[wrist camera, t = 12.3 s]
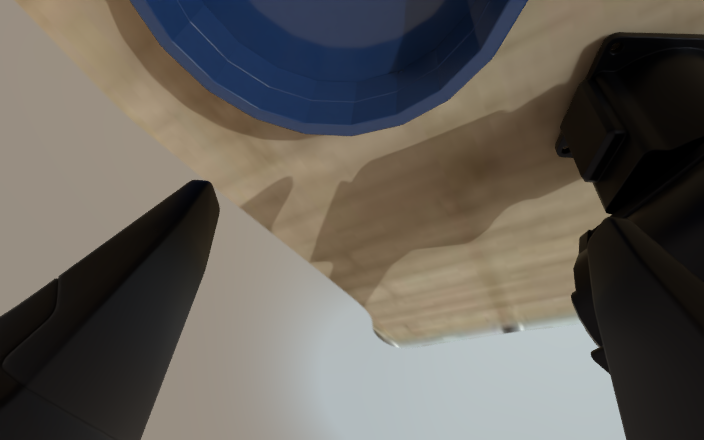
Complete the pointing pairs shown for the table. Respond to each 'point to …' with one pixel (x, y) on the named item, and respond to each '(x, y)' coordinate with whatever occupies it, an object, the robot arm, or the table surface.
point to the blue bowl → (331, 55)
